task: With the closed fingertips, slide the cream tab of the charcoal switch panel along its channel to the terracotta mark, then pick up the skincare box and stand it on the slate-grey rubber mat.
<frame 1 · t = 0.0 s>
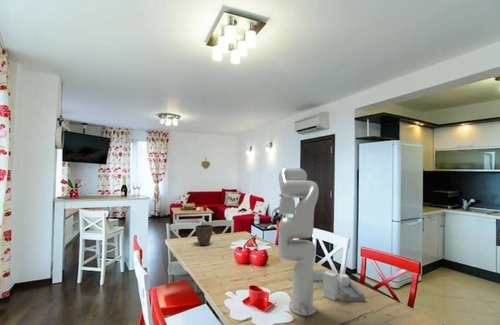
hand: (286, 222, 164), 31 cm above the table, tool pointing down, fingers open, 9 cm apart
switch tab: (343, 280, 140), point 5 cm above the table, slide at 0.0 cm
plant pot: (203, 245, 218), on the table
skincare box: (330, 297, 129), on the table
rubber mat: (321, 277, 155), on the table
switch panel: (347, 292, 135), on the table
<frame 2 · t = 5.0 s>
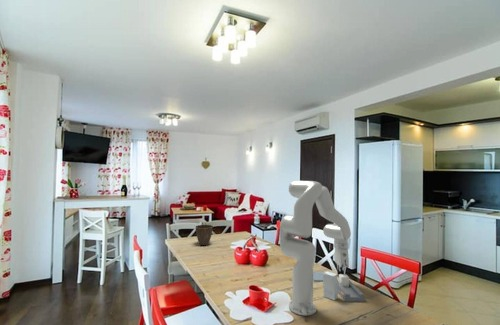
hand: (340, 277, 144), 4 cm above the table, tool pointing down, fingers closed
switch tab: (343, 280, 140), point 5 cm above the table, slide at 0.1 cm, touching gripper
everything else where it was.
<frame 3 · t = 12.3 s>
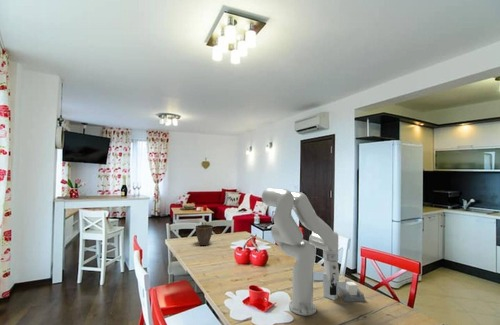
hand: (330, 290, 130), 3 cm above the table, tool pointing down, fingers closed on skincare box, 7 cm apart
switch tab: (351, 288, 130), point 5 cm above the table, slide at 10.1 cm
skincare box: (330, 297, 130), on the table, touching gripper
everything else where it was.
when the fingers open (5 cm above the table, at t = 19.2 s): skincare box drops 1 cm, resting on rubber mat.
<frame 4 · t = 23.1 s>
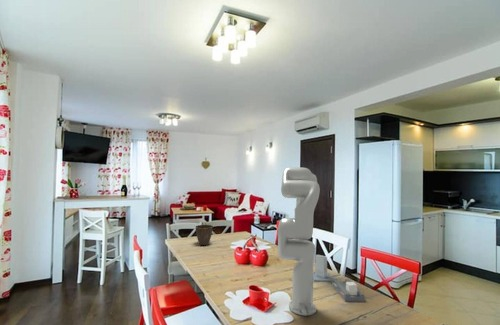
hand: (300, 222, 160), 32 cm above the table, tool pointing down, fingers open, 9 cm apart
skincare box: (321, 276, 154), point 1 cm above the table, touching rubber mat
everything else where it was.
at the end: switch tab slide at 10.1 cm; skincare box inside the target area on the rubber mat (0.2 cm from its centre), point 0.6 cm above the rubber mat's base; skincare box tilted 0° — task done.
